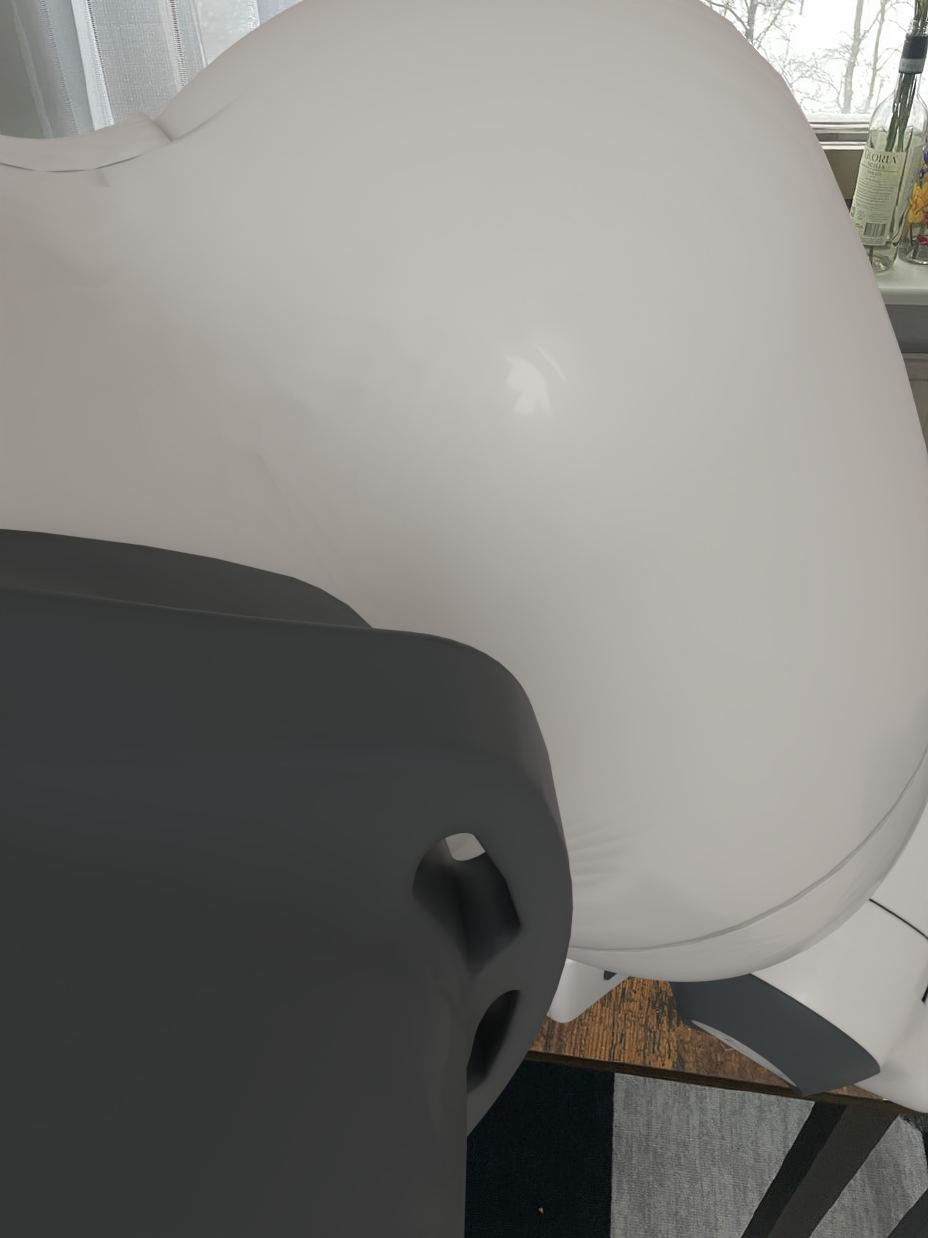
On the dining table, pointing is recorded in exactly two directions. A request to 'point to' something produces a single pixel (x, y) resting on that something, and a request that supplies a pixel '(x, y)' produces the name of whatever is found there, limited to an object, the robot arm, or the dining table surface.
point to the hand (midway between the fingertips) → (439, 752)
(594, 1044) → the dining table surface
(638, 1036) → the dining table surface
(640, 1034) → the dining table surface
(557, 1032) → the dining table surface
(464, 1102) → the robot arm
